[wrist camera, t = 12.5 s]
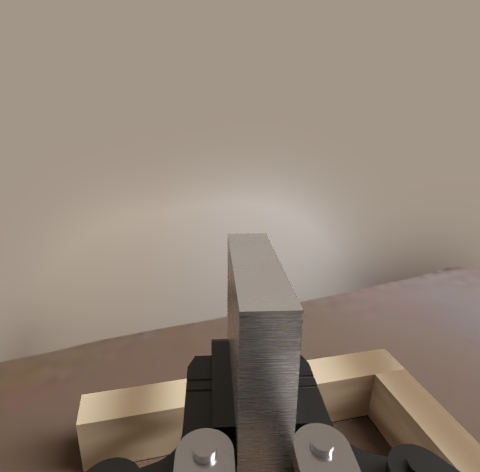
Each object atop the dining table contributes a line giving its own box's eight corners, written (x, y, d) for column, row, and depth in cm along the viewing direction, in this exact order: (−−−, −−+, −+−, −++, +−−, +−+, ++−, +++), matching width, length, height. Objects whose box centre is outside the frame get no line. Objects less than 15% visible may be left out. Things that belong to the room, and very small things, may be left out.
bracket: (234, 697, 10) (239, 311, 7) (226, 515, 15) (227, 233, 12) (459, 673, 11) (572, 303, 7) (383, 505, 16) (430, 232, 12)
